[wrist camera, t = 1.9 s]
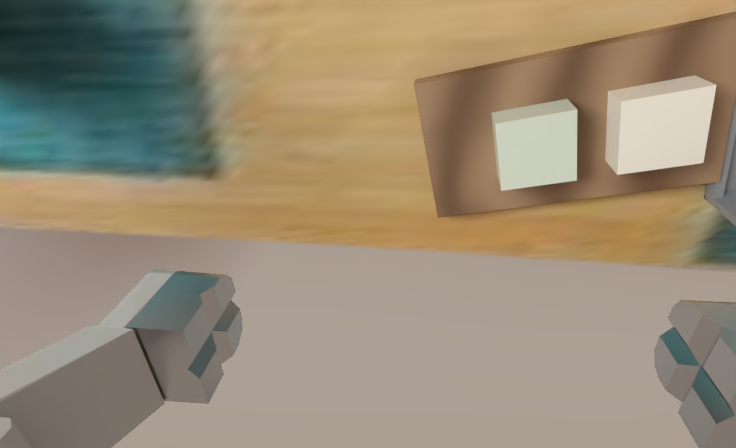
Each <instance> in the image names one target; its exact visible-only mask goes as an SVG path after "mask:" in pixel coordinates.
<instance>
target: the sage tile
mask: <svg viewBox="0 0 736 448" xmlns="http://www.w3.org/2000/svg"><path fill="white" fill-rule="evenodd" d="M491 114H492V125H493V135H494V146H495V156H496V167H497V177H498V181H499V184H500V188H501V191H505V190H512V189H519V188H526V187H533V186H541V185H548V184H555V183H562V182H570V181H577V109H576V107H575V106H574V105H573V104H572V103H571V102H570V101H569V100H568V99H563V100H558V101H552V102H547V103H542V104H536V105H531V106H525V107H520V108H514V109H509V110H503V111H498V112H493V113H491Z"/></svg>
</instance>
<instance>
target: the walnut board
mask: <svg viewBox="0 0 736 448" xmlns="http://www.w3.org/2000/svg"><path fill="white" fill-rule="evenodd" d="M694 75H695V76H698V77H700V78H702V79H704V80H707V81H709V82H711V83H713V84H716V91H715V97H714V103H713V109H712V115H711V121H710V127H709V133H708V139H707V145H706V151H705V157H704V163H700V164H693V165H686V166H678V167H671V168H664V169H657V170H649V171H642V172H635V173H628V174H620V175H617V174H616V173H615V172H614V170H613V169H612V168H611V167H610V166H609V164H608V163H607V162H606V161H605V151H606V127H607V104H608V91H612V90H618V89H623V88H629V87H634V86H639V85H645V84H650V83H656V82H661V81H667V80H672V79H678V78H683V77H688V76H694ZM414 87H415V93H416V98H417V104H418V109H419V115H420V120H421V126H422V132H423V137H424V143H425V148H426V154H427V159H428V165H429V170H430V176H431V182H432V187H433V193H434V198H435V204H436V209H437V215H438V218H440V217H448V216H455V215H463V214H471V213H479V212H487V211H495V210H503V209H510V208H518V207H526V206H534V205H542V204H550V203H557V202H565V201H573V200H581V199H589V198H597V197H605V196H612V195H620V194H628V193H636V192H644V191H652V190H660V189H667V188H675V187H683V186H691V185H699V184H707V183H715V182H719V181H720V176H721V171H722V166H723V160H724V155H725V150H726V145H727V140H728V134H729V129H730V124H731V119H732V114H733V108H734V103H735V98H736V12H733V13H728V14H723V15H719V16H714V17H709V18H705V19H700V20H695V21H690V22H686V23H681V24H676V25H672V26H667V27H662V28H657V29H653V30H648V31H643V32H639V33H634V34H629V35H624V36H620V37H615V38H610V39H606V40H601V41H596V42H591V43H587V44H582V45H577V46H573V47H568V48H563V49H558V50H554V51H549V52H544V53H539V54H535V55H530V56H525V57H521V58H516V59H511V60H506V61H502V62H497V63H492V64H488V65H483V66H478V67H473V68H469V69H464V70H459V71H455V72H450V73H445V74H440V75H436V76H431V77H426V78H422V79H417V80H415V83H414ZM563 99H568V100H569V101H570V102H571V103H572V104H573V105H574V106H575V107H576V109H577V181H570V182H562V183H555V184H548V185H541V186H533V187H526V188H519V189H512V190H505V191H501V188H500V184H499V181H498V177H497V167H496V156H495V146H494V135H493V125H492V114H491V113H493V112H498V111H503V110H509V109H514V108H520V107H525V106H531V105H536V104H542V103H547V102H552V101H558V100H563Z"/></svg>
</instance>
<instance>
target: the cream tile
mask: <svg viewBox="0 0 736 448" xmlns="http://www.w3.org/2000/svg"><path fill="white" fill-rule="evenodd" d="M715 91H716V84H713V83H711V82H709V81H707V80H704V79H702V78H700V77H698V76H695V75H694V76H688V77H683V78H678V79H672V80H667V81H661V82H656V83H650V84H645V85H639V86H634V87H629V88H623V89H618V90H612V91H608V104H607V127H606V151H605V161H606V162H607V163H608V164H609V166H610V167H611V168H612V169H613V170H614V172H615V173H616V174H617V175H620V174H628V173H635V172H642V171H649V170H657V169H664V168H671V167H678V166H686V165H693V164H700V163H704V157H705V151H706V145H707V139H708V133H709V127H710V121H711V115H712V109H713V103H714V97H715Z"/></svg>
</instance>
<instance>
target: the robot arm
mask: <svg viewBox="0 0 736 448" xmlns="http://www.w3.org/2000/svg"><path fill="white" fill-rule="evenodd" d="M234 293H235V288H234V285H233V281H232V278H231V277H229V276H227V275H222V274H209V273H196V272H184V271H179V272H177V271H166V270H155V271H152V272H149V273H148V274H147V275H146V276H145V277H144V278H143V279H142V280H141V281H140V282H139V284H137V285H136V286H135V288H134V289H133V290H132V291H131V292H130V293H129V294H128V295H127V296H126V297H125V298H124V299H123V300H122V301H121V302H120V303H119V304H118V306H117V307H115V308H114V310H113V311H112V312H111V313H110V314H109V315H108V316H107V317H106V318H105V319H104V320H103V321H102V322H101V323H100V324H99V325H98V326H88V327H86V328H84V329H82V330H80V331H78V332H76V333H74V334H72V335H70V336H68V337H66V338H64V339H62V340H60V341H57V342H55V343H53V344H51V345H49V346H48V347H45V348H43V349H41V350H39V351H37V352H35V353H33V354H31V355H29V356H27V357H25V358H23V359H21V360H19V361H17V362H15V363H12V364H10V365H9V366H7V367H4V368H2V369H1V370H0V448H111V447H113V446H114V445H115V444H116V443H117V442H119V441H120V440H121V439H122V438H123V437H125V436H126V435H127V434H128V433H129V432H131V431H132V430H133V429H134V428H135V427H137V426H138V425H139V424H140V423H142V421H144V420H145V419H146V418H148V417H149V416H150V415H151V414H152V413H154V412H155V411H156V410H157V409H159V408H160V407H161V406H162V405H163V404H164V403H165V402H164V401H175V402H191V403H207V404H208V403H209V401H210V399H211V397H212V395H213V394H214V392H215V390H216V388H217V386H218V384H219V382H220V380H221V378H222V376H223V374H224V373H223V370H222V366H221V364H222V363H223V362H224V361H226V360H227V359H229V358H230V357H232V356H233V355H234V353H235V351H236V349H237V346H238V345H239V341H240V336H241V332H242V317H241V312H240V309H239V308H238V307H237V306H236V305H235V304H234V303H233V302H232V301H231V298H232V297H233V295H234ZM668 318H669V320H670V321H671V323H672V325H673V328H671V329H670V330H668V331H667V332H665V333H664V334H662V335H661V336H660V337H659V339H658V342H657V345H656V347H655V367H656V370H657V374H658V377H659V379H660V381H661V383H662V385H663V386H664V388H665V390H667V391H668V392H669V393H670V394H672V395H673V396H674V397H676V398H677V399H678V400H680V401H681V406H680V409H679V414H680V416H681V418H682V420H683V421H684V423H685V425H686V427H687V428H688V430H689V432H690V433H691V435H692V437H693V439H694V440H695V442H696V444H697V446H698V447H699V448H736V303H730V302H711V301H691V300H680V301H679V302H678V303H677V304H675V305H674V306H673V308H672V310H671V312H670V315H669V317H668Z"/></svg>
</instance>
